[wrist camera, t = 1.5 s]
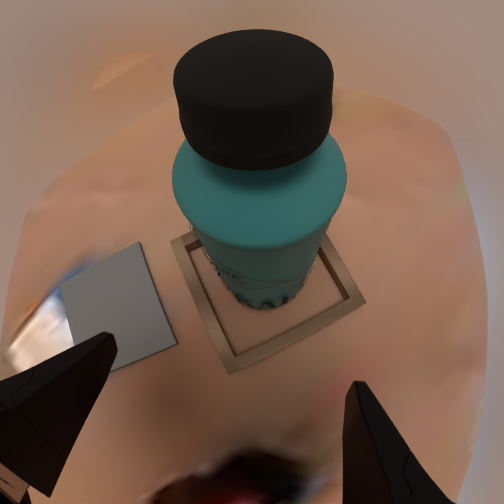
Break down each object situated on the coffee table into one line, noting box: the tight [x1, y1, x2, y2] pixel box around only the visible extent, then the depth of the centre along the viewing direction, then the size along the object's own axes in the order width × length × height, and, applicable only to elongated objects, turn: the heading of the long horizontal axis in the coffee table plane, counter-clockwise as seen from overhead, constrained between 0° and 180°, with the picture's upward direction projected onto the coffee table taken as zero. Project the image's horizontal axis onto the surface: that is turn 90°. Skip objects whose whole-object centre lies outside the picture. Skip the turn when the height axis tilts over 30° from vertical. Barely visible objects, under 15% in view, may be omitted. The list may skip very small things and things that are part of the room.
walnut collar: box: [170, 230, 366, 374], centre depth 24 cm, size 12×12×2 cm
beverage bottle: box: [172, 29, 347, 310], centre depth 15 cm, size 6×7×20 cm
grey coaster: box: [60, 242, 178, 372], centre depth 24 cm, size 10×10×1 cm
